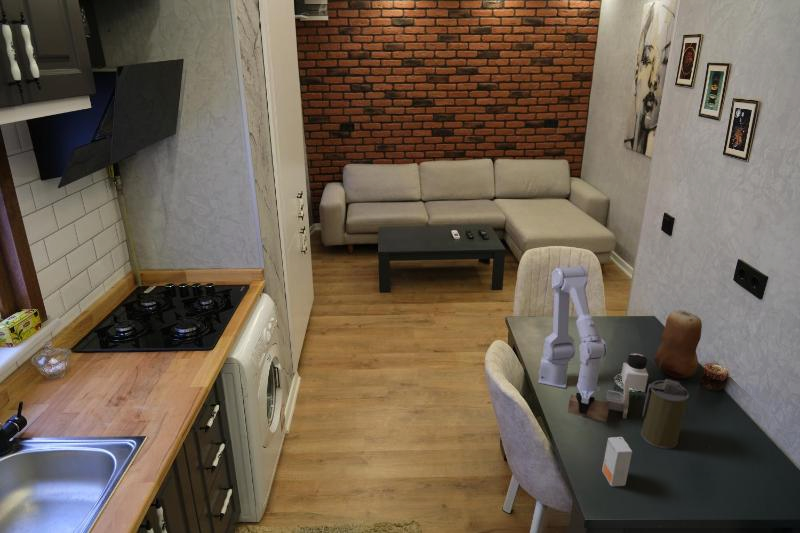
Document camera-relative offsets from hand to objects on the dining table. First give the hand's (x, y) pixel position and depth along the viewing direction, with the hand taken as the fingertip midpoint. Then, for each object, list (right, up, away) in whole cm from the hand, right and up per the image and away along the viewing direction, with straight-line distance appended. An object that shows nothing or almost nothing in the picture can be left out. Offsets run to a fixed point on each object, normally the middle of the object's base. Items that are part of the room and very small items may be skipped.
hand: (583, 409), depth 175 cm
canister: (+20, -6, -10) cm, 23 cm away
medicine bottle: (+23, +4, +15) cm, 28 cm away
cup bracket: (+12, 0, +5) cm, 13 cm away
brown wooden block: (+1, -2, 0) cm, 2 cm away
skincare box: (-1, -12, -27) cm, 29 cm away
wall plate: (+15, 0, +4) cm, 16 cm away
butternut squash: (+41, +7, +22) cm, 47 cm away
